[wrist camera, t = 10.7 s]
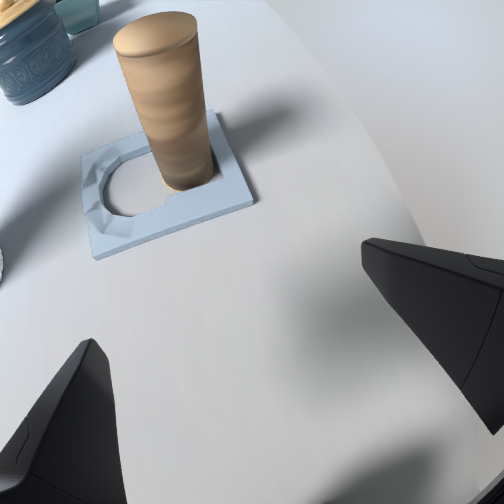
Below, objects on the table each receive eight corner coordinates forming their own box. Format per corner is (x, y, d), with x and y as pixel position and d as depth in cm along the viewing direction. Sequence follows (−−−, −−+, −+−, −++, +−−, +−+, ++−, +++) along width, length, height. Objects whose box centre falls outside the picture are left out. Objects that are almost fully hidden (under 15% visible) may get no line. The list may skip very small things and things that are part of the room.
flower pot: (105, 10, 37) (95, -23, 29) (107, 24, 35) (96, -14, 27) (65, 28, 36) (52, -4, 27) (62, 44, 34) (47, 8, 25)
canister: (81, 42, 33) (54, -37, 17) (74, 82, 30) (31, -16, 13) (19, 74, 32) (-18, 6, 15) (3, 120, 28) (-51, 43, 11)
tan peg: (184, 200, 24) (140, 60, 11) (152, 171, 25) (99, 39, 12) (223, 167, 26) (214, 22, 12) (189, 141, 26) (164, 6, 13)
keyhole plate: (95, 261, 23) (90, 257, 22) (83, 162, 26) (79, 157, 25) (252, 205, 25) (253, 199, 24) (213, 115, 28) (213, 109, 27)
